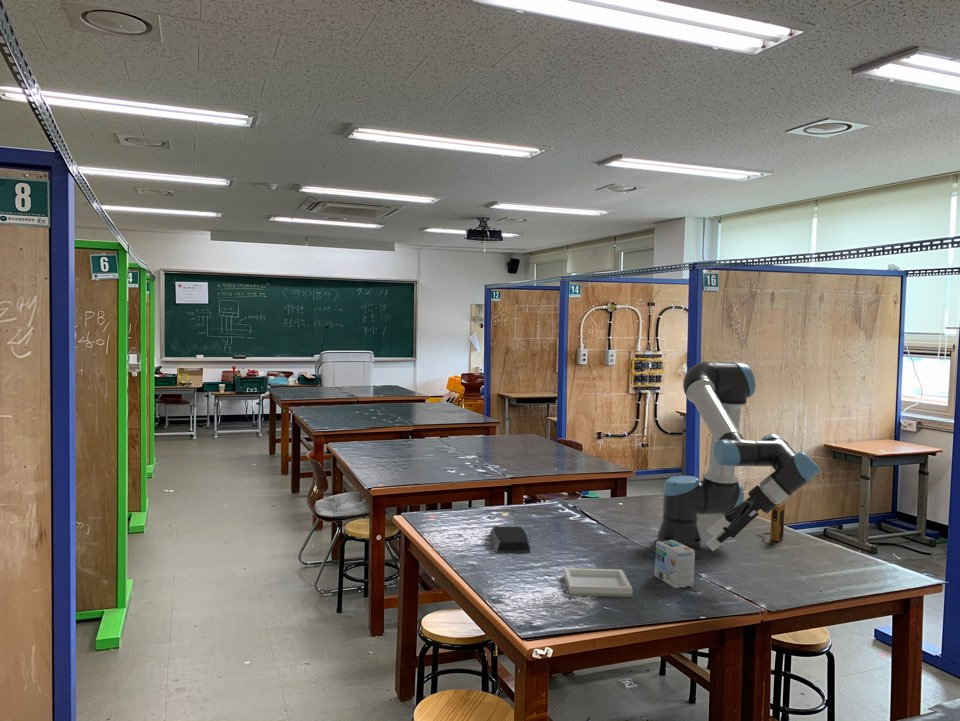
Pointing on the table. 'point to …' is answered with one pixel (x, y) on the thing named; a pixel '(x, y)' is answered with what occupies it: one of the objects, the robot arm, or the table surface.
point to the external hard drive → (509, 540)
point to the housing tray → (597, 582)
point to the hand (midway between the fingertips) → (709, 540)
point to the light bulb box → (674, 563)
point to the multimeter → (777, 522)
